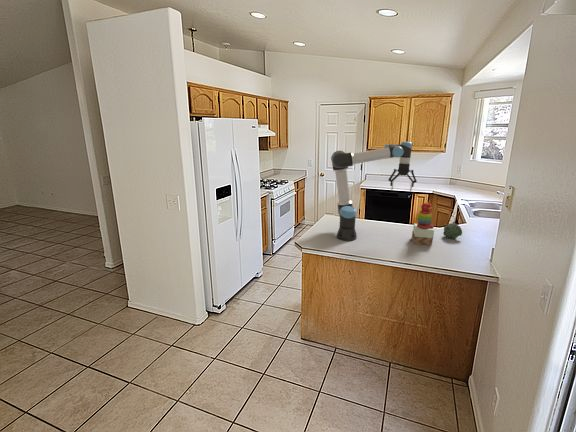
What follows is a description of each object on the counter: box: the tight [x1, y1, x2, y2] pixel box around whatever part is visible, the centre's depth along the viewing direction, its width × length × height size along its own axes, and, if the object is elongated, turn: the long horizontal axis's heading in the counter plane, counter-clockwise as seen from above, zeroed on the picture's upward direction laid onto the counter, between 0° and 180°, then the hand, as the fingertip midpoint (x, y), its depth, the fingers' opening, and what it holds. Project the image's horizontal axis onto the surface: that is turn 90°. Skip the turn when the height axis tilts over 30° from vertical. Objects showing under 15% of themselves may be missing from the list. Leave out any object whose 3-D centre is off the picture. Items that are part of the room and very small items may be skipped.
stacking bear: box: [416, 202, 435, 229], centre depth 226 cm, size 11×10×18 cm
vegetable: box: [443, 222, 463, 239], centre depth 239 cm, size 12×13×15 cm
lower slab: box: [411, 230, 434, 246], centre depth 231 cm, size 12×12×6 cm
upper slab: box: [412, 223, 435, 239], centre depth 229 cm, size 12×12×6 cm
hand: (401, 190), depth 239 cm, fingers open, 13 cm apart
